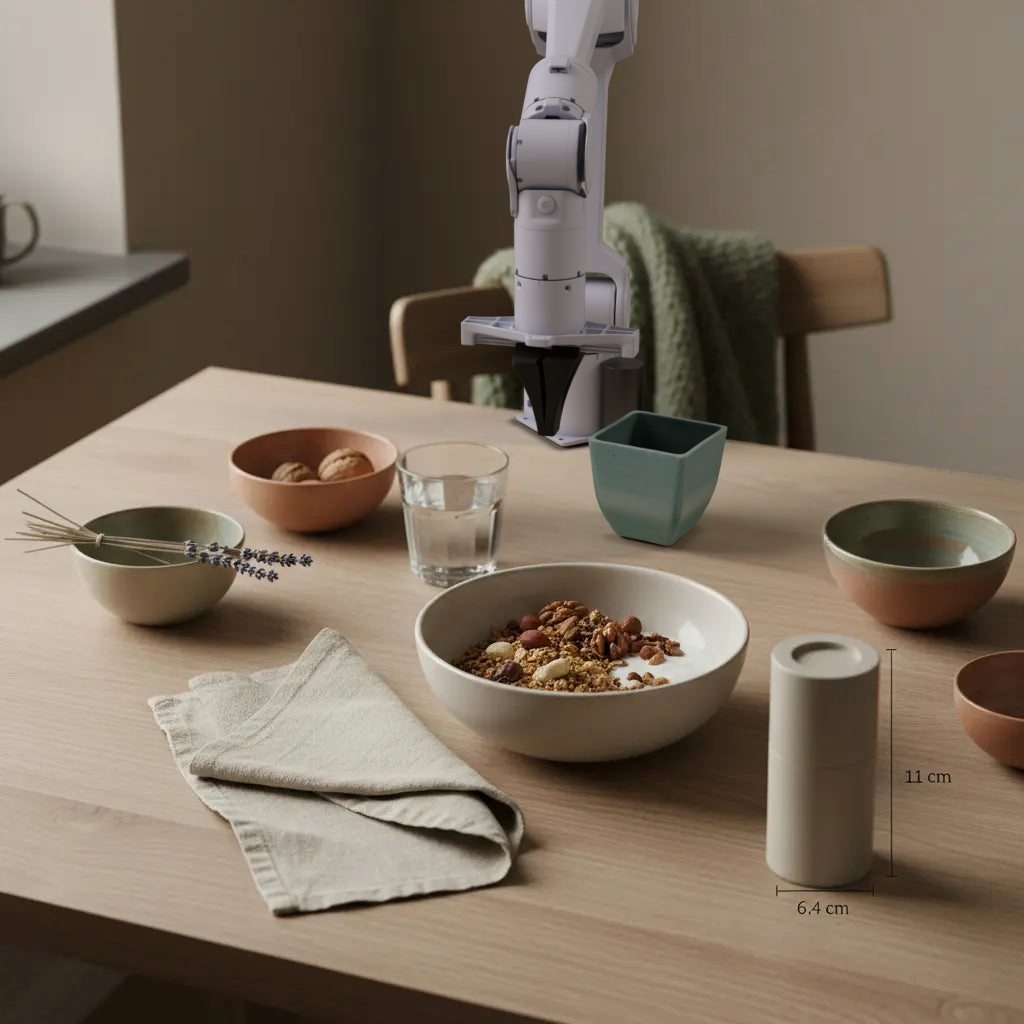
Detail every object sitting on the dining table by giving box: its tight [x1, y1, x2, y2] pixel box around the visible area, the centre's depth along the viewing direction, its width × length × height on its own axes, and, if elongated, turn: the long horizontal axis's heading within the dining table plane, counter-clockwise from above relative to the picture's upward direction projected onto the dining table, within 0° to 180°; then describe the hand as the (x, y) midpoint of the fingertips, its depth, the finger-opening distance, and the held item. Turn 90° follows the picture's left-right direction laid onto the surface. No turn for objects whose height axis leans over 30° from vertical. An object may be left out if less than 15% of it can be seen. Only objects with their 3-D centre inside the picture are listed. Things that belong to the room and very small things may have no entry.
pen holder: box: [600, 356, 645, 430], centre depth 146 cm, size 4×4×8 cm
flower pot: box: [588, 410, 728, 546], centre depth 125 cm, size 9×9×9 cm
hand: (548, 432), depth 126 cm, fingers closed
